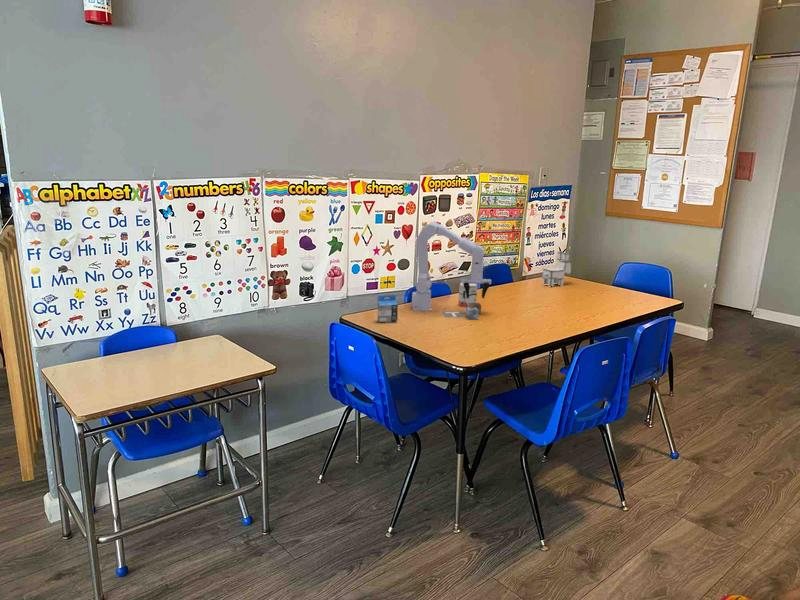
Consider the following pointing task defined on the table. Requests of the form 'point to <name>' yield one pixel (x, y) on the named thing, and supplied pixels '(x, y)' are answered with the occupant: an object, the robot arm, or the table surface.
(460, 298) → the ink box
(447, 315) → the letter card
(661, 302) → the table surface
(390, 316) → the label tape box
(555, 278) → the toy llama
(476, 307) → the walnut block
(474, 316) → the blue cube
